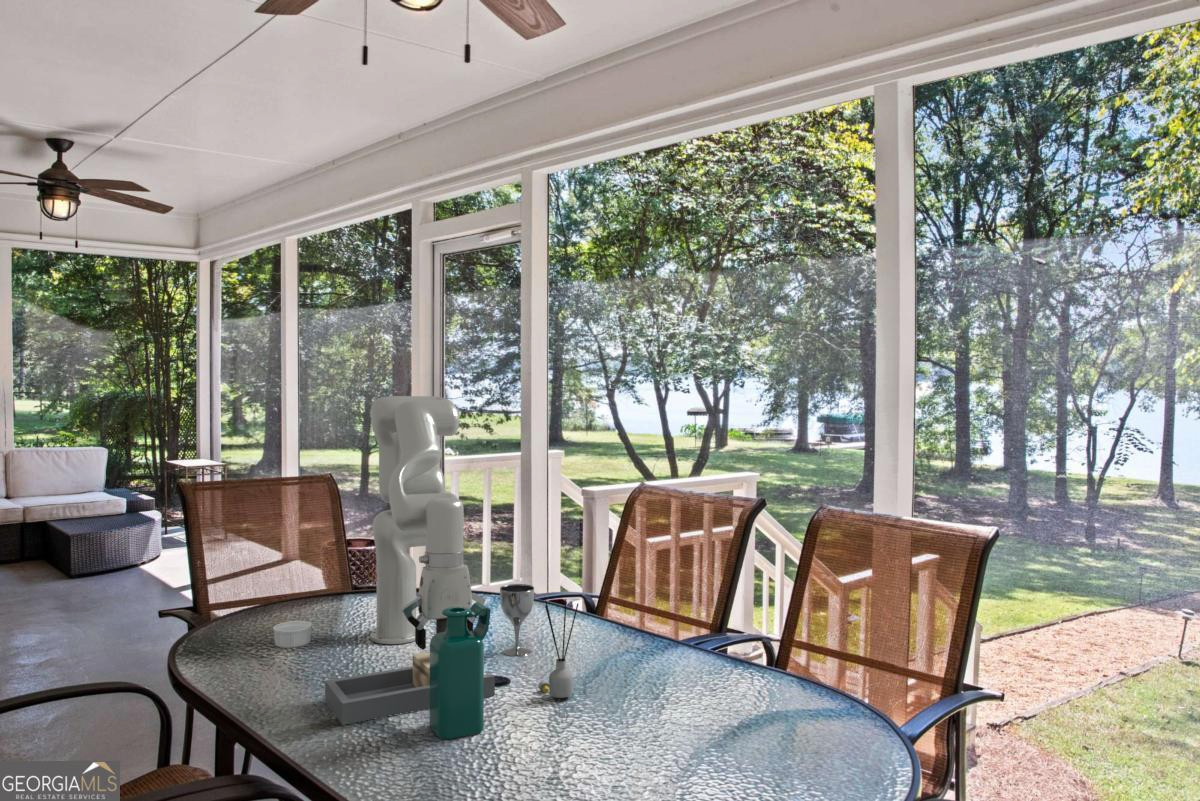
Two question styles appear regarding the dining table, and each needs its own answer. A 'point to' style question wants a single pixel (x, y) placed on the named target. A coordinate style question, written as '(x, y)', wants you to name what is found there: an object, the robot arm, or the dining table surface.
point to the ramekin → (292, 634)
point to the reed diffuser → (559, 668)
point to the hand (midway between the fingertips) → (444, 644)
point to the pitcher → (458, 674)
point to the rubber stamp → (425, 660)
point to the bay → (381, 695)
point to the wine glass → (516, 611)
